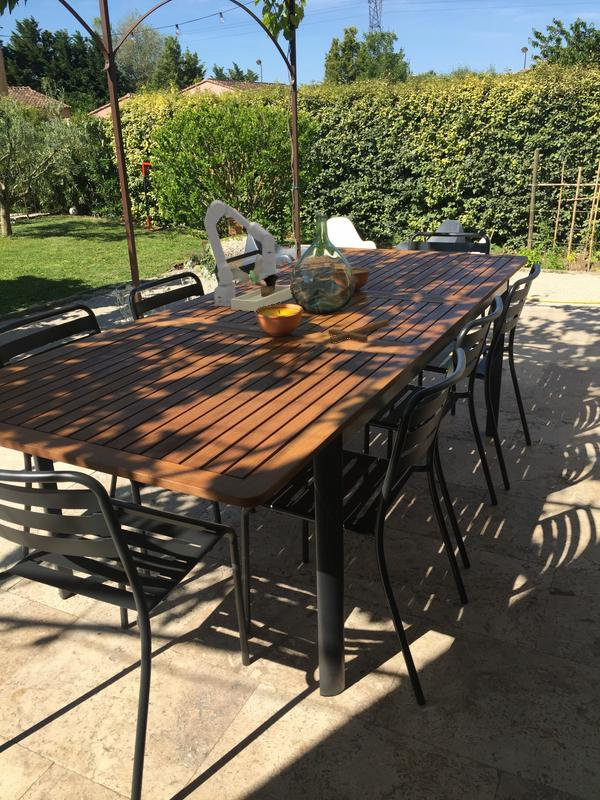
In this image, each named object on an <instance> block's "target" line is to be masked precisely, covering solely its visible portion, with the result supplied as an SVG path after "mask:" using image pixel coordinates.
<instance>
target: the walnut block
mask: <svg viewBox="0 0 600 800" xmlns="http://www.w3.org/2000/svg"><path fill="white" fill-rule="evenodd" d="M260 289H261V297H267V296H269V295H272V294H274V292H273V286H267V285H264V286H262V287H260Z"/></svg>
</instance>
